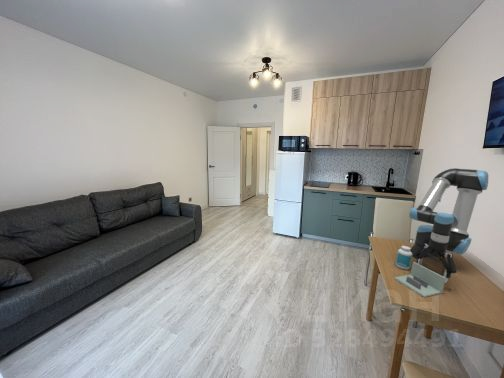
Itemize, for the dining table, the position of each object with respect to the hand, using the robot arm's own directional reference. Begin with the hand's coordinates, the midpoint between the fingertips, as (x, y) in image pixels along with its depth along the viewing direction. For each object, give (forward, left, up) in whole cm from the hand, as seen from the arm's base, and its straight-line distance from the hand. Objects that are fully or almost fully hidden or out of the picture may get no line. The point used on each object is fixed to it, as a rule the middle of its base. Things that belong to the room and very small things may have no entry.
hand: (430, 275), depth 121 cm
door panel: (0, 0, -3) cm, 3 cm away
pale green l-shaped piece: (+13, +2, -3) cm, 14 cm away
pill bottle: (+2, -15, -4) cm, 16 cm away
